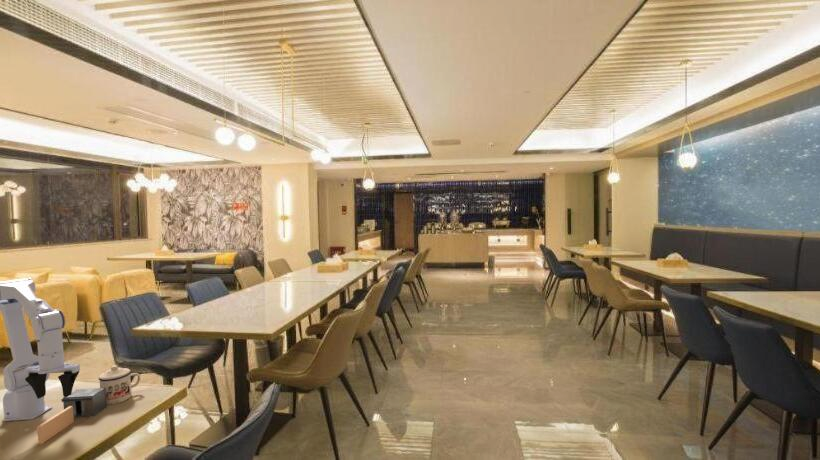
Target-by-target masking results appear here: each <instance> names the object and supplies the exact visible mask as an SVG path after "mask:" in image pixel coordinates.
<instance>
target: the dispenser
mask: <svg viewBox="0 0 820 460" xmlns="http://www.w3.org/2000/svg"><path fill="white" fill-rule="evenodd" d="M61 403H63V410H64V409H66V408H67V407H69V406H73V415H74V418H78V417H79V416H82V418H86V417H88V418H89V417H95V416H97V415H98V414H99V413H101V412H102V411H104V410H106V409H107V407H108V406H107V403H106V390H105V388H100V387H95V388H78V389H77V388H76V389H75V390H72V393H71V395H69V396H68V397H64V396H63V397H62V399H61Z"/></svg>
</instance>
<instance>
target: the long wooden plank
mask: <svg viewBox="0 0 820 460" xmlns="http://www.w3.org/2000/svg"><path fill="white" fill-rule="evenodd" d="M74 422H75V417H74V415H73V406H69V407H67V408H66V409H64V408H63V409H62V410H61V411H60V412H58V413H56V414H55V415H52V416H51V417H50V418H48V419H47V420H45V421H44V422H42V423H41V424H39V425H37V427H36V431H37V441H38V445H43V444H44V443H45V442H47V441H48V440H50V439H51V438H53V437H54V436H56V435H57V434H58V432H59V433H60V432H61V431H63V430H64V429H66V428H68V427H69V426H70V425H72V424H73V423H74Z"/></svg>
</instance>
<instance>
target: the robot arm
mask: <svg viewBox="0 0 820 460" xmlns="http://www.w3.org/2000/svg"><path fill="white" fill-rule="evenodd" d="M35 292H36V284H35V281H34V279H33V278H32V277H26V278H19V279H18V278H17V279H10V280H2V281H0V314H1V315H2V319H3V322H4V327H5V331H6V336H7V339H8V340H7V341H8V344H9V347H10V351H11V356H12V360H11V362H10V363H8V364H7V365H6V366H5V368H4V369H3V384H4V387H5V389H6V392H5V393H4V395H3V396H2V397H3V398H2V406H3V416H4V418H2V419H1V421H2V422H8V421H9V422H10V421H23V420H24V421H26V420H27V421H28V420H34V419H36V418H37V417H39V416H41V415H42V414H44V413H45V412H48V411H49V410H51V409H52V408H53V406H51V405H48V406H47V405H46V404H45V396H46V388H47V387H46V382H47V381H48V380H49V378H50V374H60V375H58V376H57V378H58V380H59V382H60V384H61V390H62V396H63V397H68V396H69V395H71V393H72V392H73V388H74V384H75V382H76V379H77V377H78V375H79V373H80V370H81V366H80V364H76V363H67V362H65V354H64V341H63V340H64V339H63V330H62V329H64V328H65V326H66V317H65V314H64V312H63V311H62V310H61V309H53V307H51V306H50V304H49V303H48V302H47V301H46V300H45V299H43V298H38V297H37V295H36V294H35ZM24 315H25V316H26V317H27V318H28V319H29V320H30V321H31V328H32V330H33V333H34V338H35V340H36V343H37V355H36V354H34V353H33V349H32V345H31V341H30V336H29V332H28V329H27V324H26V320H25V316H24ZM61 373H63V374H61Z"/></svg>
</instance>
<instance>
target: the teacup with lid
mask: <svg viewBox="0 0 820 460" xmlns="http://www.w3.org/2000/svg"><path fill="white" fill-rule="evenodd" d="M133 376H137V380H136V382H135V383H134V384H132V383H131V381H132V379H131V377H133ZM98 380H99V388H105V390H106V403H107V405H108V406H109V405H114V404H119V403H121V402H125V401H127V400H128V399H130V398H131V397H132V389H133V388H136V387H137V386H138V385H139V384H140V382H141V375H140V373H137V372H132V371H131V369H129V368H126V367H125V368H124V367H119V365H116V364H114V365H112V366H111V367H110V369H108V370H107V371H105V372H103V373H101V374H100V375H99V376H98Z"/></svg>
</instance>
